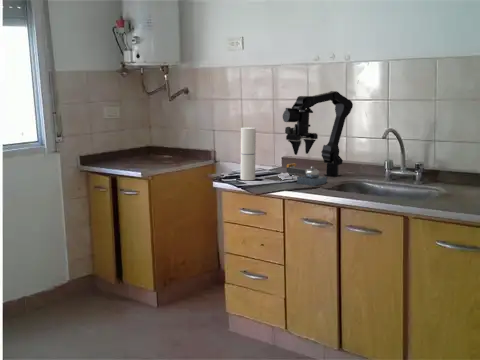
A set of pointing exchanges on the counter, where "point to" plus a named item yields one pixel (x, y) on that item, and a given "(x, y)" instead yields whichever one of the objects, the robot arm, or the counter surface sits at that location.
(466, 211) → the counter surface
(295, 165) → the chuck key
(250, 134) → the cylindrical container
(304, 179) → the chuck base
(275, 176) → the rubber pad
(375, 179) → the counter surface
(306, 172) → the chuck collar
